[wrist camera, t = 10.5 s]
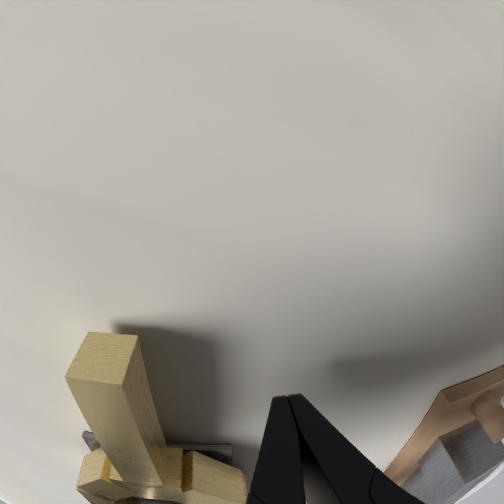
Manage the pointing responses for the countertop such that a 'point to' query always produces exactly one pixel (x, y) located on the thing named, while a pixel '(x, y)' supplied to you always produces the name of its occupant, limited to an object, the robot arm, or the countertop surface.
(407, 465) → the peg rack
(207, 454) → the dark grey rounded knob
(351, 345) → the countertop surface
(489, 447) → the bar
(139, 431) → the gold flat handled piece
